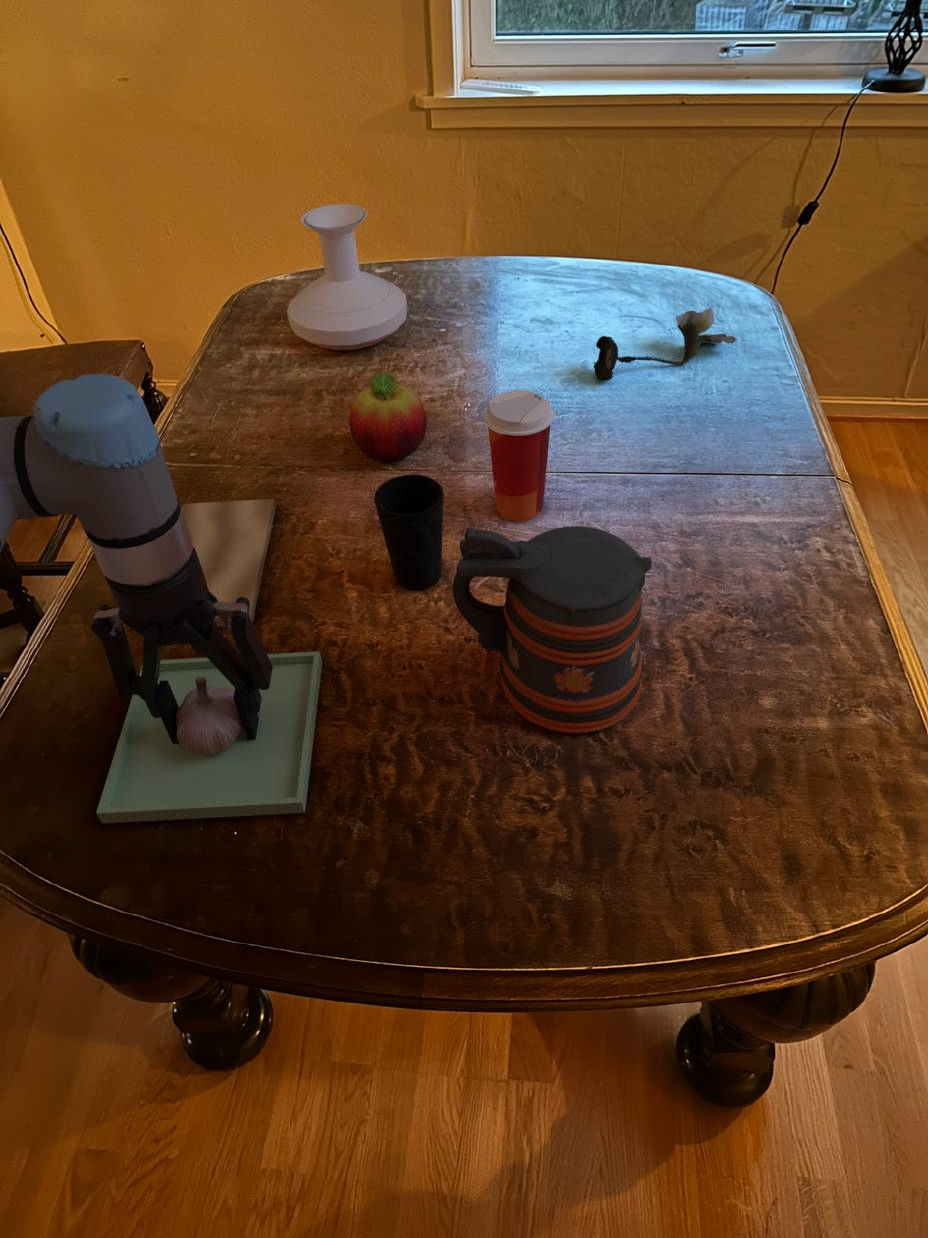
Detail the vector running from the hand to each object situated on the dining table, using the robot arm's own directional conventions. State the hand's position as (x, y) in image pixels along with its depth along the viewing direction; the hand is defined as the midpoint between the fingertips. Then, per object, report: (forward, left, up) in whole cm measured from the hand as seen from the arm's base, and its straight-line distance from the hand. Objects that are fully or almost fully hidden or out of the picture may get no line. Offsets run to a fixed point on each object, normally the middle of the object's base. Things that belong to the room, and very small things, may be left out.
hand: (216, 731), depth 89 cm
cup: (+20, +23, -1) cm, 31 cm away
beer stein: (+34, +5, -1) cm, 35 cm away
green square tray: (0, 0, -1) cm, 1 cm away
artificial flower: (+58, +70, -1) cm, 91 cm away
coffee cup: (+33, +35, -1) cm, 48 cm away
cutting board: (-5, +27, -1) cm, 27 cm away
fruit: (+16, +50, -1) cm, 53 cm away
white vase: (+8, +86, -1) cm, 86 cm away
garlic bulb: (0, 0, -1) cm, 1 cm away
